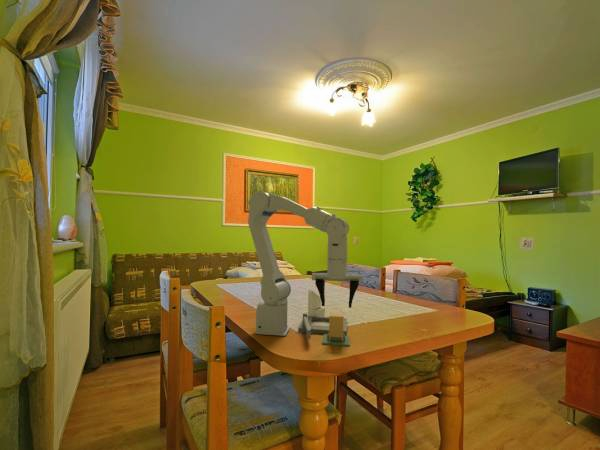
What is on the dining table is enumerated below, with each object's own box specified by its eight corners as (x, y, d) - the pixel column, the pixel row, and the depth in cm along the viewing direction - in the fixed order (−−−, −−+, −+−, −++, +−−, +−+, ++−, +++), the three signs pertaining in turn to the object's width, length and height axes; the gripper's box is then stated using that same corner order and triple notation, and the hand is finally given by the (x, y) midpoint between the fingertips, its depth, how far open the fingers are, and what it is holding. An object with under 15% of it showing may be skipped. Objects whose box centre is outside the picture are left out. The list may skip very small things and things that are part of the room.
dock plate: (298, 331, 91) (298, 328, 91) (304, 319, 105) (304, 315, 105) (346, 335, 88) (346, 331, 88) (346, 321, 102) (346, 318, 102)
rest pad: (321, 344, 81) (321, 342, 81) (323, 335, 88) (323, 334, 88) (349, 346, 80) (349, 344, 80) (349, 337, 87) (349, 336, 87)
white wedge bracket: (300, 313, 103) (308, 290, 107) (314, 321, 110) (321, 299, 114) (309, 315, 101) (316, 291, 105) (322, 323, 108) (329, 301, 111)
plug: (326, 341, 82) (327, 316, 82) (327, 335, 87) (328, 311, 87) (345, 342, 81) (345, 317, 81) (345, 336, 86) (345, 312, 87)
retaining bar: (302, 322, 96) (302, 313, 96) (306, 322, 96) (307, 313, 96) (306, 339, 80) (306, 328, 81) (311, 339, 81) (311, 328, 81)
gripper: (361, 258, 87) (361, 304, 87) (314, 257, 90) (313, 301, 89) (363, 260, 80) (362, 310, 80) (311, 259, 83) (310, 307, 82)
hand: (336, 306), depth 84 cm, fingers open, 7 cm apart
